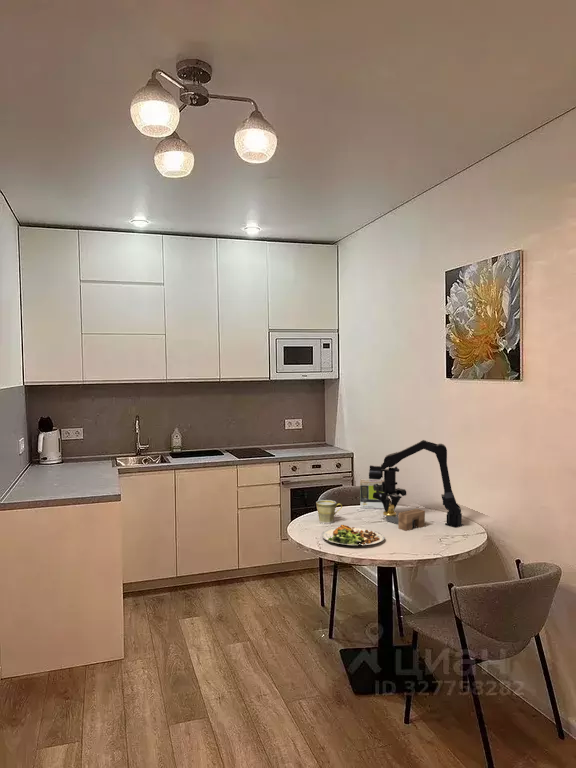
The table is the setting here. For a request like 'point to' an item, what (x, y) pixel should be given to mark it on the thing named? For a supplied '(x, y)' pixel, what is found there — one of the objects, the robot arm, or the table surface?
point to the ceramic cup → (326, 510)
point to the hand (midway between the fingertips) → (389, 511)
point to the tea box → (369, 494)
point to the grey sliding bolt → (393, 515)
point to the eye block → (407, 518)
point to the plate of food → (352, 535)
